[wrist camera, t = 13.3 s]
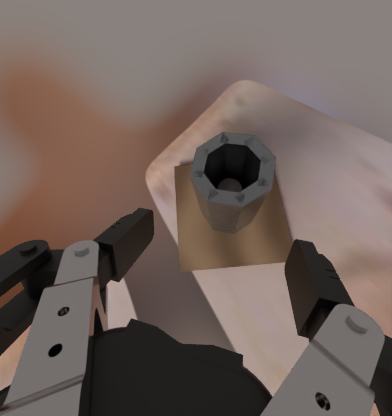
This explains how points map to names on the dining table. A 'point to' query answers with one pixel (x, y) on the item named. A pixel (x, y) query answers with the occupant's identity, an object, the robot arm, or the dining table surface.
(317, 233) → the dining table surface
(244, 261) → the stand
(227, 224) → the sleeve
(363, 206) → the dining table surface
